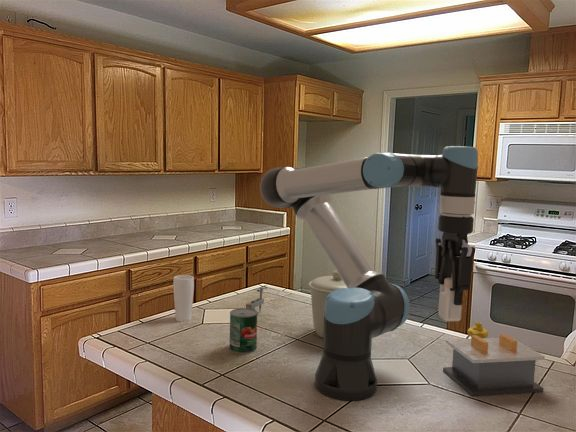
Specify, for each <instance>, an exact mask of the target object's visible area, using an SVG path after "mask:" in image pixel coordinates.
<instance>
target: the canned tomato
mask: <svg viewBox="0 0 576 432" xmlns="http://www.w3.org/2000/svg"><path fill="white" fill-rule="evenodd" d="M257 333H258V311H257V310H255V308H254V309H249V308H246V307H242V308H241V307H240V308H235V309H232V310H230V311H229V351H231V352H232V353H235V354H250V353H254V352H256V350H257V348H258V347H257V344H258V342H257V341H258V334H257Z"/></svg>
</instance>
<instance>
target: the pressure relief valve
mask: <svg viewBox="0 0 576 432" xmlns="http://www.w3.org/2000/svg"><path fill="white" fill-rule="evenodd" d="M482 325H483V323H482V322H479V321H476V322H475V323H474V325H473V326H472V327H469V328H468V329H467V335H468V336H469V337H471V336H472V335H477V336H479V337H480V338H487V337H488V338H489V331H487V329H486V328H484V327H483V326H482Z"/></svg>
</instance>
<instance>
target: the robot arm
mask: <svg viewBox="0 0 576 432" xmlns="http://www.w3.org/2000/svg"><path fill="white" fill-rule="evenodd" d="M478 170H479V151H478V149H477V148H476V147H475V146H465V145H464V146H460V145H457V146H455V145H454V146H453V145H451V146H450V145H449V146H448V145H447V146H445V147H444V148H443V150H442V154H437V155H435V154H434V155H431V154H411V153H410V154H408V153H407V154H406V153H394V152H390V151H382V152H375V153H373V154H371V155H369V156H366V157H359V158H353V159H348V160H341V161H336V162H332V163H331V162H330V163H327V164H326V163H325V164H321V165H320V164H319V165H315V166H309V167H307V166H305V167H291V166H290V167H289V166H286V167H285V166H284V167H282V166H281V167H279V166H278V167H274V168H271V169H269V170H268V171H266V172H265V173H264V174H263V175H262V176H261V180H260V182H259V192H260V196H261V197H262V199H263V200H264V201H265V203H267V204H268V205H269V206H271V207H274V208H278V209H285V208H286V209H289V208H291V209H292V211H293V212H294V214H295V216H296V217H297V219H299V220H303V221H305V222H306V224H307V225H308V227H309V228H310V230H311V231H312V233H313V235H314V236H315V238H316V240H317V241H318V243H319V244H320V246H321V248H322V249H323V251H324V252H325V253H326V256H327V258H329V260H330V262H331V264H332V265H333V267H334V268H335V270H337V272H338V273H339V275H340V276H341V278H342V280H343V281H344V283H345V284H346V286H347V288H341V289H337V290H335V291H333V292H331V293H330V294H329V295H328V296H327V298H326V301H325V308H324V338H323V347H322V349H323V350H322V356H321V358H320V361H319V363H318V367H317V369H316V371H315V375H314V386H315V389H316V390H317V391H319V393H321V394H323V395H324V396H327V397H329V398H332V399H335V400H342V401H361V400H365V399H368V398H371V397H373V396H374V395H375V394H376V392H377V389H378V388H377V387H378V378H377V373H376V371H375V368H374V364H373V360H372V347H373V345H372V344H373V343H372V342H373V339H374V338H377V337H379V336H382V335H384V334H386V333H390V332H393V331H395V330H397V329H398V328H399V327H401V326H403V325H404V323H405V322H406V321H407V319H408V317H409V315H410V307H411V306H410V305H411V304H410V300H409V298H408V295H407V293H406V292H405V290H404V289H403V288H402V287H400V286H399V285H396V284H393V283H390V282H389V281H388V279H387V278H386V276H385V274H383V273H382V272H378V271H375V270H374V268H373V266H371V264H370V262H369V261H368V259H367V258H366V256H365V255H364V253H363V252H362V250H361V249H360V247H359V246H358V244H357V242H356V241H355V239H354V238H353V236H352V235H351V233H350V232H349V230H348V229H347V228H346V225H345V224H344V223H343V221H342V220H341V218H340V217H339V215H338V213H337V212H336V211H335V209H334V207H333V206H332V205H331V204H332V203H331V202H332V195H336V194H341V193H342V194H345V193H351V192H360V191H367V190H368V191H369V190H379V189H386V188H387V189H388V188H400V187H401V188H405V187H406V188H407V187H420V188H421V187H423V188H425V187H426V188H438V189H439V188H440V194H439V208H438V210H439V213H441V214H440V215H439V216H438V222H437V223H438V225H437V227H438V228H437V229H438V231H440V232H442V237H440V238H439V237H437V238H435V249H436V250H435V251H436V252H435V268H434V269H435V270H434V273H435V274H434V277H435V280H437V281H438V283H439V295H438V297H439V296H440V292H442V291H444V280H445V278H452V283H453V288H450V301H449V315H448V318H450V319H451V318H462V309H463V299H464V292H466V291H469V290H470V289H471V283H472V281H471V280H472V271H473V261H474V256H475V253H476V248H475V247H474V246H470V245H469V239H468V235H469V234H472V233H473V232H474V221H475V219H474V217H473V216H472V215H474V214H475V204H476V201H475V200H476V191H477V190H476V189H477V180H478ZM437 309H438V311H439V307H438V308H437ZM438 311H437V312H438Z"/></svg>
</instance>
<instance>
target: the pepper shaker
mask: <svg viewBox="0 0 576 432" xmlns="http://www.w3.org/2000/svg"><path fill="white" fill-rule="evenodd" d="M450 288H453V283H452V277H451V278H445V280H444V291H442V292H440V291H439V294H440V296H439V295H438V308H439V311H437V312H438V313H437V314H438V315H437V316H438V317H439V318H440V319H441V320H443V321H445V322H459V321H461V318H462V317H461V318H451V319H450V318H448V315H449V301H450Z"/></svg>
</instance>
